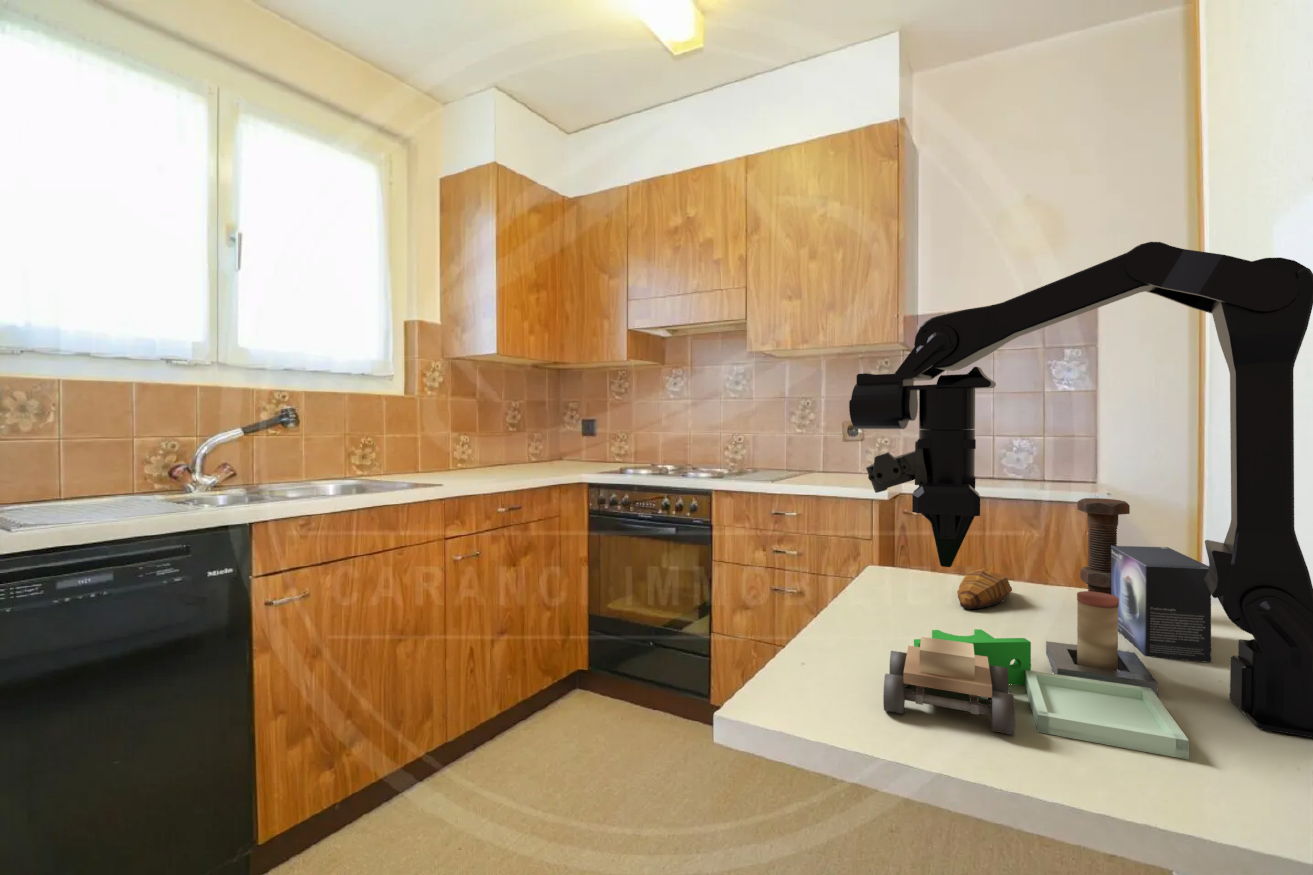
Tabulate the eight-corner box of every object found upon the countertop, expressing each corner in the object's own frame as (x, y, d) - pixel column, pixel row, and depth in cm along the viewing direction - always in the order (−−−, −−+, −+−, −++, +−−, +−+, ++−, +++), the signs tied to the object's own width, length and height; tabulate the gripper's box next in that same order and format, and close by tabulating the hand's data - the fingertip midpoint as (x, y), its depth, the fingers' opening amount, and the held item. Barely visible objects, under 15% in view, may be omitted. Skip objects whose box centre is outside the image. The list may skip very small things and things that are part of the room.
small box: (1106, 625, 77) (1107, 543, 77) (1168, 630, 75) (1170, 546, 74) (1141, 656, 67) (1142, 562, 67) (1214, 663, 65) (1216, 566, 64)
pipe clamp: (1009, 671, 64) (1010, 628, 64) (1030, 687, 60) (1031, 641, 60) (903, 671, 64) (903, 628, 64) (918, 687, 61) (918, 642, 60)
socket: (1134, 665, 65) (1134, 652, 65) (1157, 696, 57) (1157, 682, 57) (1045, 653, 68) (1046, 641, 68) (1057, 681, 61) (1057, 668, 61)
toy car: (1005, 695, 58) (1006, 634, 58) (1014, 741, 50) (1015, 671, 50) (892, 676, 63) (892, 620, 62) (883, 716, 54) (883, 651, 54)
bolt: (1072, 608, 83) (1073, 500, 83) (1080, 600, 87) (1081, 496, 86) (1125, 618, 79) (1126, 504, 79) (1131, 609, 83) (1132, 500, 82)
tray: (1150, 703, 56) (1150, 688, 56) (1188, 759, 47) (1189, 740, 47) (1024, 684, 60) (1024, 669, 60) (1037, 731, 51) (1037, 714, 51)
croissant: (991, 618, 80) (992, 581, 80) (940, 606, 86) (940, 571, 85) (1027, 597, 89) (1028, 563, 89) (979, 588, 94) (979, 556, 94)
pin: (1113, 669, 64) (1114, 593, 63) (1122, 683, 60) (1122, 602, 60) (1073, 664, 65) (1074, 589, 65) (1080, 676, 62) (1080, 598, 62)
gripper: (879, 427, 80) (879, 544, 81) (861, 432, 64) (860, 578, 64) (974, 427, 76) (973, 551, 76) (981, 432, 59) (979, 591, 59)
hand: (945, 566), depth 69 cm, fingers closed
